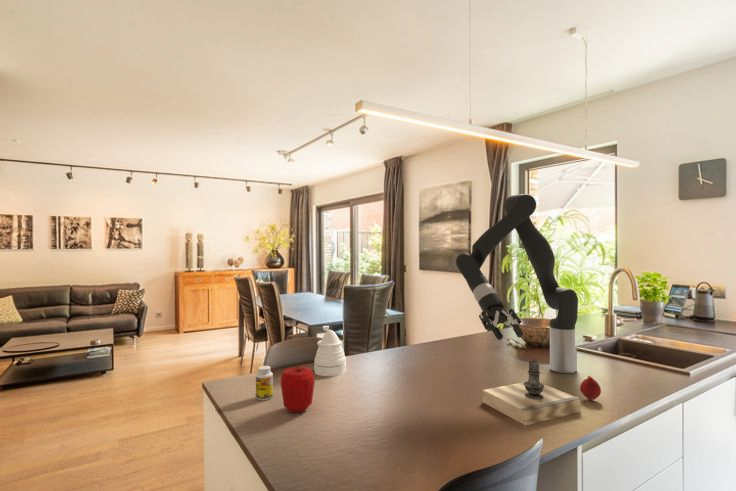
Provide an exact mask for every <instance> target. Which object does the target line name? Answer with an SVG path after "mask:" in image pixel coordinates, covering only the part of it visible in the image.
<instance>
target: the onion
mask: <svg viewBox="0 0 736 491" xmlns="http://www.w3.org/2000/svg"><path fill="white" fill-rule="evenodd" d="M579 386H580V387H579V390H580V393H581V394H582V395H583V396H584V397H585V398H586V399H587V400H588V401H589V402H590V401H593V400H596V399H598V397H600V396H601V393H602V390H601V386H600V384H599V383H598V382H597V380H595V379H594V378H593V377H592V376H591V375H587V378H585V379H584V380H583V381H582V382H581V384H580V385H579Z"/></svg>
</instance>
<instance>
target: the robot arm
mask: <svg viewBox="0 0 736 491" xmlns="http://www.w3.org/2000/svg"><path fill="white" fill-rule="evenodd" d="M536 208H537V201H536V199H535V198H534V196H533V195H530V194H527V193H520V194H513V195H510V196H508V197H507V198H506V200H505V201H504V211H505V213H506V214H505V215H504V216H503V217H502V218H501V219H500V220H499V221H497V222H496V223H494V224H493V225H491V227H490V228H488V229H487V230H486V231H484V232H483V233H482V234H481V235H480V236H479V237H478V239H477V240H475V241H474V243H473V245H472V246H471V253H468V252H462V253H459V254H458V255H457V256H456V259H455V265H456V267H457V269H458V270H459V272H460V274H461V275H462V277H463V278H464V280H465V281H466V283H467V285H468V287H469V289H470V291H471V293H472V294H473V297H474V299H475V301H476V302H477V303H476V304H478V306H479V307H480V309H481V313H480V314H479V315H478V317H479V319H480V322H481V323H482V325H483V327H484V329H485V330H486V331H489V330H490V331H491V332H492V333H493V335H494V337H495V338H496V339H497V340H498V341H501V340H502V339H503V338H504V335H503V332H501V329H500V328H499V327H498V325H500V324H501V325H502V324H505V326H509V327H511V329H512V330H513V331H514V333H515V335H516V337H517V338H521V337H523V335H524V332H523V330H522V329H521V327H520V324H521V323H522V320H521V319H520V317H519V316H518V314H517V313H516V311H515V310H514V309H513V308H510V309H509V310H508V309H507V310H506V309H505V307H504V302H503V300H502V299H501V298H500V296H499V294H498V292H497V291H496V290H495V288H494V287H493V286H492V285H491V283H490V282H489V280H488V279H487V277H486V276H485V274H484V273H483V272H482V271H481V268H482V266H483V264H484V263H485V261H486V260H487V258H488V257H489V255H490V254H491V253H492V252H493V251H494V250H495V249H496V248H497V247H498V245H499V244H501V242H502V241H503V240H504V239H505V238H506V237H507V236H508V235H510V233H511V232H513V231H514V230H515V231H516V233H517V234H518V237H519V240H520V242H521V244H522V246H523V249H524V250H525V251H524V252H525V254H526V256H527V257H528V260H529V263H530V264H531V266H532V270H533V271H534V274H535V276H536V278H537V280H538V283H539V285H540V289H541V293H542V295H543V298H544V301H545V303H546V304H547V306H548V307H549V308H550V309H553V310H556V311H557V315H556V317H554V318H551V319H550V320H549V369H550V370H551V371H553V372H557V373H560V374H574V373H576V371H577V370H578V356H577V355H578V348H577V346H576V323H577V322H578V311H579V299H578V298H579V297H578V295H577V292H576V291H575V290H573V289H571V288H568V287H567V288H566V287H560V285H559V284H558V282H557V280H556V278H555V274H554V272H555V262H556V258H555V257H556V256H555V254H554V251H553V249H552V246H551V245H550V243H549V241H548V240H547V239H546V237H545V236H544V235H543V234H542V233H541V231H539V230H538V228H537V227H536V226H535V225H534V223H533V221H532V219H531V217H530V216H533V214H534V213H535V211H536Z"/></svg>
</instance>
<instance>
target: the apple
mask: <svg viewBox="0 0 736 491" xmlns="http://www.w3.org/2000/svg"><path fill="white" fill-rule="evenodd" d="M314 374H315V372H313V370H312V369H310V368H309V367H305V366H303V367H302V366H299V367H298V366H295V367H291V368H290V367H288V368H287V369H284V371H283V373H282V374H281V375H280V376H281V377H280V388H281V394H282V400H283V401H282V402H283V407H284V408H285V409H286V410H287V411H288V412H290V413H301V412H304V411H306V410H307V409H308V408H309V407H310V406H311V405H312V403H313V396H314V391H315V390H314V389H315V375H314Z"/></svg>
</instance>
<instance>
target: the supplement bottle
mask: <svg viewBox="0 0 736 491" xmlns="http://www.w3.org/2000/svg"><path fill="white" fill-rule="evenodd" d="M257 371H258V372H256V374H255V399H256V400H259V401H269V400H271V399H272V398H273V396H274V389H273V388H274V374H273V372H272V371H271V366H269V365H261V366H259V367H258V368H257Z"/></svg>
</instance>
